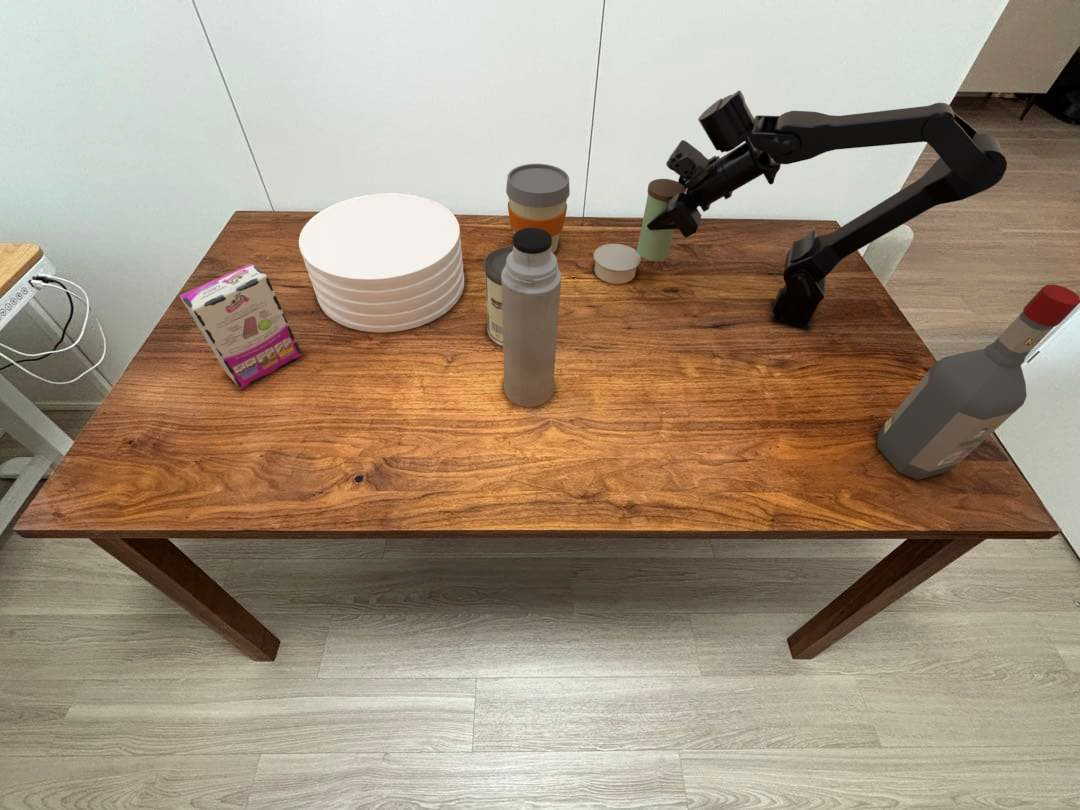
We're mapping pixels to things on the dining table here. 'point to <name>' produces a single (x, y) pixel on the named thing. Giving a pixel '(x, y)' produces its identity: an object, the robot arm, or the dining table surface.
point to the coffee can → (495, 291)
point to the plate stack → (384, 261)
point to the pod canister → (654, 241)
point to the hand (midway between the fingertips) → (652, 219)
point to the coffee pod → (616, 263)
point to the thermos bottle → (530, 317)
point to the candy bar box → (243, 324)
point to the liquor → (969, 393)
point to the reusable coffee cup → (538, 199)
